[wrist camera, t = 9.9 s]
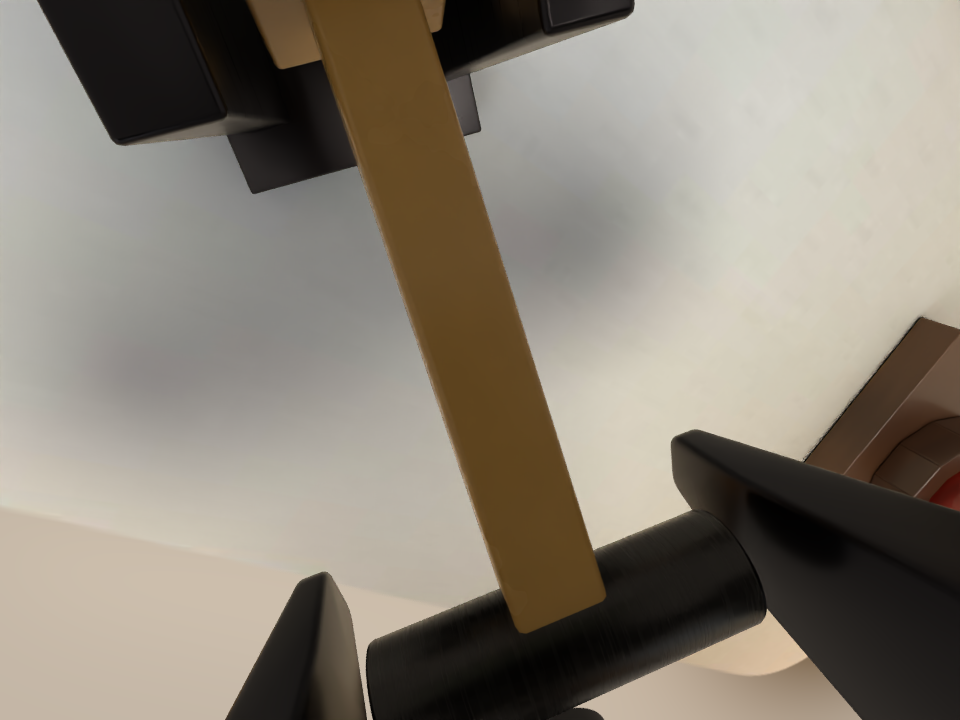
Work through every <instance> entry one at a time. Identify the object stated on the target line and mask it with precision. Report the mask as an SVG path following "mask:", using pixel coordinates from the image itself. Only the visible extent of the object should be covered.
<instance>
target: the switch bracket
mask: <svg viewBox="0 0 960 720" xmlns="http://www.w3.org/2000/svg"><path fill="white" fill-rule="evenodd" d="M37 2H38V4H39V5H40V7H41V9H42V11H43V13H44V15H45V17H46V19H47V20H48V22H49V24H50V26H51V28H52V30H53V32H54V34H55V35H56V37H57V39H58V41H59V43H60V45H61V47H62V49H63V50H64V52H65V54H66V56H67V58H68V60H69V62H70V64H71V65H72V67H73V69H74V71H75V73H76V75H77V77H78V78H79V80H80V82H81V84H82V86H83V88H84V90H85V92H86V93H87V95H88V97H89V99H90V101H91V103H92V105H93V107H94V108H95V110H96V112H97V114H98V116H99V118H100V120H101V122H102V123H103V125H104V127H105V129H106V131H107V133H108V135H109V137H110V138H111V140H112V141H113V142H114V143H115V144H117V145H122V146H128V145H137V144H146V143H156V142H165V141H174V140H184V139H193V138H203V137H212V136H221V135H227V137H228V140H229V142H230V144H231V147H232V149H233V151H234V154H235V156H236V158H237V161H238V163H239V165H240V168H241V170H242V172H243V175H244V177H245V179H246V181H247V184H248V186H249V188H250V191H251V193H252V194H257V193H260V192H264V191H268V190H271V189H275V188H278V187H282V186H286V185H289V184H293V183H296V182H300V181H304V180H307V179H311V178H315V177H318V176H322V175H325V174H329V173H333V172H336V171H340V170H344V169H347V168H351V167H354V166H357V163H356V160H355V157H354V154H353V152H352V149H351V146H350V143H349V140H348V137H347V134H346V131H345V128H344V125H343V122H342V119H341V116H340V113H339V110H338V107H337V104H336V101H335V98H334V95H333V92H332V89H331V86H330V83H329V80H328V77H327V74H326V72H325V69H324V66H323V63H322V60H318V61H314V62H310V63H306V64H302V65H297V66H293V67H289V68H285V69H279V68H277V67H276V65H275V64H274V62H273V60H272V58H271V56H270V54H269V52H268V49H267V47H266V45H265V43H264V41H263V39H262V36H261V34H260V32H259V30H258V28H257V26H256V23H255V21H254V19H253V17H252V15H251V13H250V10H249V8H248V6H247V4H246V2H245V0H37ZM634 4H635V3H634V0H446V3H445V10H444V16H443V23H442V28H441V29H440V30H439V31H436V32H432V33H431V34H432V38H433V41H434V44H435V47H436V50H437V53H438V57H439V60H440V63H441V66H442V69H443V73H444V76H445V79H446V82H447V85H448V89H449V92H450V95H451V98H452V101H453V105H454V108H455V111H456V114H457V117H458V121H459V124H460V127H461V130H462V133H463V136H467V135H470V134H474V133H477V132H480V131H481V126H480V121H479V117H478V112H477V107H476V102H475V97H474V93H473V88H472V83H471V78H470V73H473V72H476V71H479V70H481V69H484V68H487V67H490V66H493V65H496V64H498V63H501V62H504V61H507V60H510V59H512V58H515V57H518V56H521V55H524V54H527V53H529V52H532V51H535V50H538V49H541V48H543V47H546V46H549V45H552V44H555V43H558V42H560V41H563V40H566V39H569V38H572V37H574V36H577V35H580V34H583V33H586V32H589V31H591V30H594V29H597V28H600V27H603V26H606V25H608V24H611V23H614V22H617V21H620V20H622V19H625V18H627V17H628V16H629V15H630V14H632V12H633V10H634Z"/></svg>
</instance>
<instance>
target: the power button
mask: <svg viewBox="0 0 960 720" xmlns="http://www.w3.org/2000/svg"><path fill="white" fill-rule="evenodd" d="M929 502H932V503H935V504H938V505H942V506H945V507H948V508H951V509H954V510H958V511H960V472H958V473H957V474H955V475H953V476H952V477H950V478H949V479H947V480H946V482H945V483H944V484H943V485H942V486H941V487H940V488H939V489H938V490H937V492H936V493H935V494H934V495H933V496H932V497H931V498H930V500H929Z"/></svg>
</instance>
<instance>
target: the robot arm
mask: <svg viewBox="0 0 960 720" xmlns="http://www.w3.org/2000/svg"><path fill="white" fill-rule="evenodd" d="M671 457H672V472H673V479H674V482H675V484H676V486H677V488H678V490H679V491H680V493H681V494H682V496H683V497H684V499H685V500H686V501H687V503H688V504H689V506H690V507H691V509H692V510H695V509H699V510H705V511H707V512H709V513H711V514H713V515H714V516H715V517H717V518H718V519H719V520H720V521H721V522H722V523H724V524H725V525H726V527H727V528H728V529H729V530H730V531H731V532H732V533H733V534H734V536H735V537H736V538H737V540H738V541H739V542H740V544H741V545H742V547H743V548H744V550H745V551H746V553H747V555H748V556H749V558H750V560H751V561H752V563H753V565H754V567H755V569H756V571H757V574H758V576H759V578H760V581H761V583H762V586H763V589H764V593H765V597H766V604H767V609H768V610H769V611H770V613H771V614H772V615H773V616H774V617H775V618H776V620H777V621H778V622H779V623H780V624H781V625H782V627H783V628H784V629H785V630H786V631H787V632H788V634H789V635H790V636H791V637H792V638H793V639H794V641H795V642H796V643H797V644H798V645H799V646H800V648H801V649H802V650H803V651H804V652H805V653H806V655H807V656H808V657H809V658H810V659H811V660H812V662H813V663H814V664H815V665H816V666H817V667H818V669H819V670H820V671H821V672H822V673H823V675H824V676H825V677H826V678H827V679H828V680H829V682H830V683H831V684H832V685H833V686H834V687H835V689H836V690H837V691H838V692H839V693H840V694H841V695H842V697H843V698H844V699H845V700H846V701H847V703H848V704H849V705H850V706H851V707H852V708H853V710H854V711H855V712H856V713H857V714H858V715H859V717H860V718H861V719H862V720H960V511H958V510H954V509H951V508H948V507H945V506H942V505H938V504H935V503H932V502H929V501H926V500H922V499H919V498H916V497H913V496H909V495H906V494H903V493H900V492H897V491H893V490H890V489H887V488H884V487H881V486H877V485H874V484H871V483H868V482H865V481H861V480H858V479H855V478H852V477H849V476H845V475H842V474H839V473H836V472H833V471H829V470H826V469H823V468H820V467H817V466H813V465H810V464H807V463H804V462H801V461H797V460H794V459H791V458H788V457H784V456H781V455H778V454H775V453H772V452H768V451H765V450H762V449H759V448H756V447H752V446H749V445H746V444H743V443H740V442H736V441H733V440H730V439H727V438H724V437H720V436H717V435H714V434H711V433H708V432H704V431H701V430H690V431H688V432H685V433H682V434H680V435H677V436H675V437H674V438H673V439H672V441H671ZM225 720H367V717H366V709H365V702H364V695H363V689H362V682H361V676H360V669H359V662H358V656H357V649H356V643H355V637H354V631H353V623H352V618H351V614H350V610H349V608H348V605H347V603H346V601H345V600H344V598H343V596H342V594H341V592H340V591H339V589H338V587H337V585H336V583H335V581H334V580H333V578H332V576H331V575H330V574H329V573H328V572H320V573H318V574H315V575H313V576H310V577H307V578H305V579H303V580H301V581H300V582H299V583H298V584H297V586H296V587H295V589H294V591H293V593H292V595H291V597H290V599H289V600H288V602H287V604H286V606H285V608H284V610H283V612H282V614H281V616H280V617H279V619H278V621H277V623H276V625H275V627H274V629H273V631H272V632H271V634H270V636H269V638H268V640H267V642H266V644H265V646H264V648H263V649H262V651H261V653H260V655H259V657H258V659H257V661H256V663H255V664H254V666H253V668H252V670H251V672H250V674H249V676H248V678H247V680H246V681H245V683H244V685H243V687H242V689H241V691H240V693H239V695H238V697H237V698H236V700H235V702H234V704H233V706H232V708H231V710H230V711H229V713H228V715H227V717H226V719H225Z"/></svg>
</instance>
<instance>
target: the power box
mask: <svg viewBox="0 0 960 720" xmlns="http://www.w3.org/2000/svg"><path fill="white" fill-rule="evenodd" d="M805 463H807V464H810V465H813V466H817V467H820V468H823V469H826V470H829V471H833V472H836V473H839V474H842V475H845V476H849V477H852V478H855V479H858V480H861V481H865V482H868V483H871V484H874V485H877V486H881V487H884V488H887V489H890V490H893V491H897V492H900V493H903V494H906V495H909V496H913V497H916V498H919V499H922V500H926V501H929V500H930V498H931V497H932V496H933V495H934V494H935V493H936V492H937V490H938V489H939V488H940V487H941V486H942V485H943V484H944V483H945V482H946V480H947V479H949V478H950V477H952V476H953V475H955V474H957V473H958V472H960V329H957V328H954V327H950V326H947V325H944V324H941V323H938V322H935V321H932V320H929V319H926V318H922V317H921V318H920V319H919V320H918V322H917V323H916V324H915V325H914V327H913V328H912V329H911V330H910V332H909V333H908V334H907V335H906V337H905V338H904V339H903V340H902V342H901V343H900V344H899V345H898V347H897V348H896V349H895V350H894V352H893V353H892V354H891V355H890V356H889V358H888V359H887V360H886V361H885V363H884V364H883V365H882V366H881V368H880V369H879V370H878V371H877V373H876V374H875V375H874V376H873V378H872V379H871V380H870V381H869V383H868V384H867V385H866V386H865V388H864V389H863V390H862V391H861V393H860V394H859V395H858V396H857V398H856V399H855V400H854V401H853V403H852V404H851V405H850V406H849V408H848V409H847V410H846V411H845V413H844V414H843V415H842V416H841V418H840V419H839V420H838V421H837V423H836V424H835V425H834V426H833V428H832V429H831V430H830V431H829V433H828V434H827V435H826V436H825V438H824V439H823V440H822V441H821V443H820V444H819V445H818V446H817V448H816V449H815V450H814V451H813V453H812V454H811V455H810V456H809V458H808V459H807V460H806V461H805Z"/></svg>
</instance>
